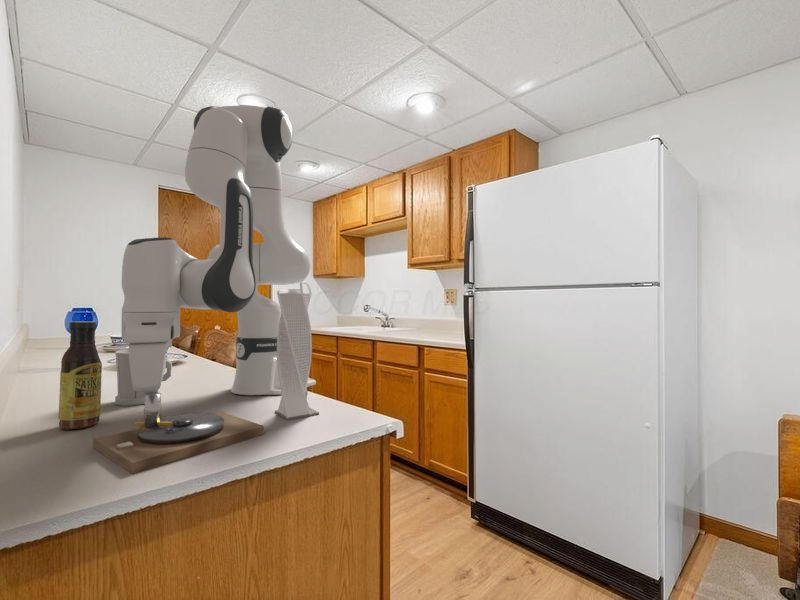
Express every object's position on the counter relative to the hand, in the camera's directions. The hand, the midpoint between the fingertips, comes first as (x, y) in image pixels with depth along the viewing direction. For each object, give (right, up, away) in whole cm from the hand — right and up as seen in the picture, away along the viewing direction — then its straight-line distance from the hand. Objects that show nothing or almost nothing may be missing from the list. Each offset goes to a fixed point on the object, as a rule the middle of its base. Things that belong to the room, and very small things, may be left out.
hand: (151, 406), depth 72 cm
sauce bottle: (-17, -5, +6) cm, 19 cm away
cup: (-17, -5, +25) cm, 31 cm away
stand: (+7, -5, -2) cm, 9 cm away
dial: (+6, -3, -2) cm, 7 cm away
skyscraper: (+22, -6, +14) cm, 27 cm away
